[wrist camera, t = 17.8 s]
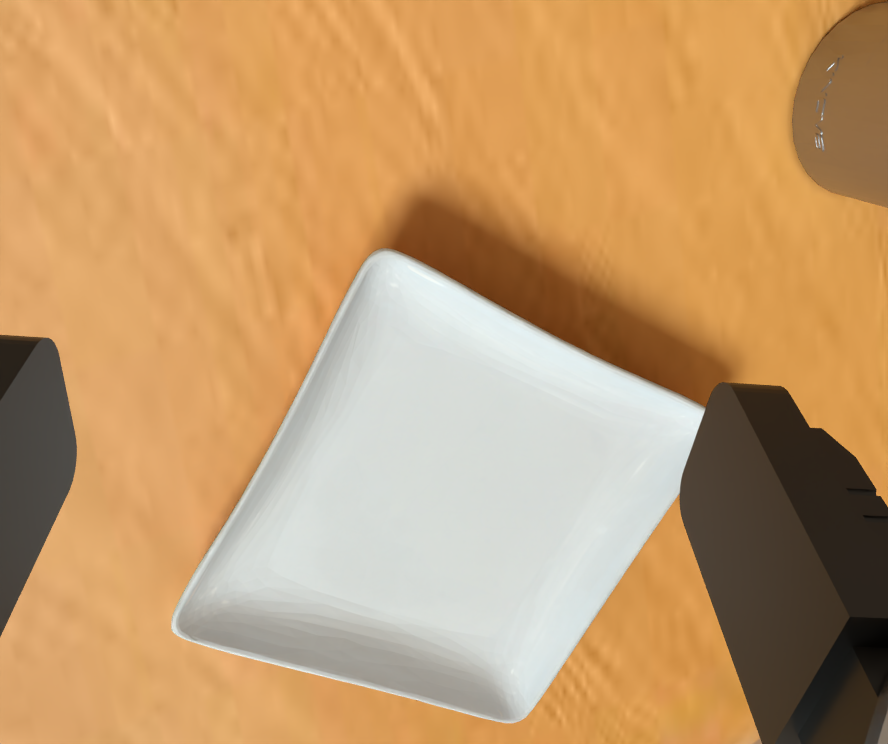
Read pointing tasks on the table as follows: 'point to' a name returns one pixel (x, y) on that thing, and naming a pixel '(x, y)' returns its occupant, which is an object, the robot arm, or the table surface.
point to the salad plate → (441, 501)
